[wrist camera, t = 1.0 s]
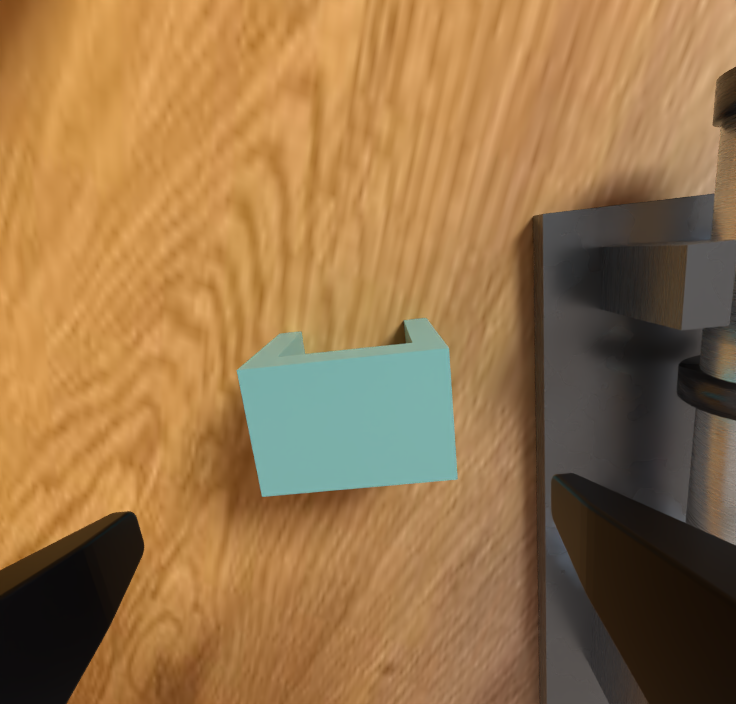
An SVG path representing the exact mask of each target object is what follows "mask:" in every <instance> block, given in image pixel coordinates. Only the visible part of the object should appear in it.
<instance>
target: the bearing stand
mask: <svg viewBox="0 0 736 704" xmlns="http://www.w3.org/2000/svg"><path fill="white" fill-rule="evenodd" d="M714 196H715V194H707V195H699V196H691V197H682V198H674V199H665V200H657V201H649V202H640V203H632V204H624V205H615V206H607V207H598V208H590V209H582V210H573V211H565V212H556V213H548V214H541V215H537V216H533V244H534V317H535V391H536V464H537V538H538V611H539V685H540V704H648V702H647V700H646V698H645V697H644V695H643V693H642V691H641V690H640V688H639V686H638V684H637V683H636V681H635V679H634V677H633V676H632V674H631V672H630V670H629V669H628V667H627V665H626V663H625V662H624V660H623V658H622V656H621V655H620V653H619V651H618V649H617V648H616V646H615V644H614V642H613V641H612V639H611V637H610V635H609V634H608V632H607V630H606V628H605V627H604V625H603V623H602V621H601V619H600V618H599V616H598V614H597V612H596V611H595V609H594V607H593V605H592V604H591V602H590V600H589V598H588V596H587V594H586V592H585V590H584V588H583V586H582V584H581V582H580V580H579V577H578V575H577V573H576V571H575V568H574V566H573V564H572V562H571V559H570V557H569V555H568V552H567V550H566V548H565V546H564V543H563V541H562V539H561V537H560V534H559V532H558V530H557V528H556V525H555V523H554V521H553V517H552V513H551V479H552V477H553V475H555V474H563V473H574V474H577V475H579V476H581V477H584V478H586V479H588V480H590V481H593V482H595V483H597V484H599V485H602V486H604V487H606V488H608V489H611V490H613V491H615V492H617V493H620V494H622V495H624V496H626V497H628V498H631V499H633V500H635V501H637V502H640V503H642V504H644V505H646V506H649V507H651V508H653V509H655V510H658V511H660V512H662V513H664V514H667V515H669V516H671V517H673V518H676V519H678V520H680V521H682V522H686V510H687V499H688V488H689V477H690V466H691V454H692V443H693V432H694V421H695V410H696V408H695V407H692V406H691V405H689V404H687V403H685V402H684V401H683V400H681V399H680V398H679V397H678V395H677V391H676V390H677V377H678V365H679V363H680V362H681V361H683V360H684V359H687V358H690V357H693V356H698V355H700V353H701V342H702V331H703V328H710V327H719V326H729V325H730V316H731V306H732V297H733V287H734V278H735V269H736V239H735V240H711V230H712V219H713V208H714Z"/></svg>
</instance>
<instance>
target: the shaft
mask: <svg viewBox="0 0 736 704" xmlns="http://www.w3.org/2000/svg"><path fill="white" fill-rule="evenodd" d="M713 126H715V127H721V129H720V140H719V152H718V163H717V174H716V185H715V196H714V208H713V219H712V230H711V240H735V239H736V67H734V68H733V69H731V70H729V71H727V72H726V73H724V74H723V75H722V76H720V77H719V78H718V79H717V81H716V91H715V103H714V115H713ZM676 391H677V395H678V397H679V398H680V399H681V400H683V401H684V402H685V403H687V404H689V405H691V406H692V407H695V408H696V410H695V421H694V432H693V443H692V454H691V466H690V477H689V488H688V499H687V510H686V522H685V523H687V524H689V525H691V526H694V527H696V528H698V529H700V530H703V531H705V532H707V533H709V534H712V535H714V536H716V537H718V538H721V539H723V540H725V541H727V542H730V543H732V544H734V545H736V269H735V278H734V287H733V297H732V306H731V316H730V325H729V326H719V327H710V328H703V331H702V342H701V353H700V355H698V356H693V357H690V358H687V359H684V360H683V361H681V362H680V363H679V365H678V377H677V390H676Z"/></svg>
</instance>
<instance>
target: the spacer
mask: <svg viewBox="0 0 736 704" xmlns="http://www.w3.org/2000/svg"><path fill="white" fill-rule="evenodd" d="M404 328H405V339H406V344H396V345H387V346H377V347H368V348H358V349H349V350H340V351H330V352H321V353H311V354H305V351H304V344H303V338H302V332H292V333H282V334H279V335H278V336H276V337H275V338H274V339H273V340H272V341H271V342H269V343H268V344H267V345H266V346H265V347H263V348H262V349H261V350H260V351H259V352H258V353H256V354H255V355H254V356H253V357H252V358H251V359H249V360H248V361H247V362H246V363H245V364H243V365H242V366H241V367H240V368H239V369H238V370H237V374H238V379H239V384H240V389H241V394H242V399H243V404H244V409H245V414H246V419H247V424H248V429H249V434H250V439H251V444H252V449H253V454H254V459H255V464H256V469H257V474H258V479H259V484H260V489H261V494H262V497H266V496H277V495H288V494H299V493H310V492H322V491H333V490H344V489H355V488H367V487H378V486H389V485H400V484H412V483H423V482H434V481H445V480H456V479H458V478H457V463H456V448H455V433H454V418H453V403H452V388H451V373H450V358H449V348H448V346H447V345H446V344H445V342H444V341H443V340H442V338H441V337H440V336H439V334H438V333H437V332H436V330H435V329H434V328H433V326H432V325H431V323H430V322H429V321H428V319H427V318H421V319H411V320H404Z"/></svg>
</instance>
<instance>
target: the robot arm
mask: <svg viewBox="0 0 736 704" xmlns="http://www.w3.org/2000/svg"><path fill="white" fill-rule="evenodd" d="M551 513H552V517H553V521H554V523H555V525H556V528H557V530H558V532H559V534H560V537H561V539H562V541H563V543H564V546H565V548H566V550H567V552H568V555H569V557H570V559H571V562H572V564H573V566H574V568H575V571H576V573H577V575H578V577H579V580H580V582H581V584H582V586H583V588H584V590H585V592H586V594H587V596H588V598H589V600H590V602H591V604H592V605H593V607H594V609H595V611H596V612H597V614H598V616H599V618H600V619H601V621H602V623H603V625H604V627H605V628H606V630H607V632H608V634H609V635H610V637H611V639H612V641H613V642H614V644H615V646H616V648H617V649H618V651H619V653H620V655H621V656H622V658H623V660H624V662H625V663H626V665H627V667H628V669H629V670H630V672H631V674H632V676H633V677H634V679H635V681H636V683H637V684H638V686H639V688H640V690H641V691H642V693H643V695H644V697H645V698H646V700H647V702H648V704H736V545H734V544H732V543H730V542H727V541H725V540H723V539H721V538H718V537H716V536H714V535H712V534H709V533H707V532H705V531H703V530H700V529H698V528H696V527H694V526H691V525H689V524H687V523H685V522H682V521H680V520H678V519H676V518H673V517H671V516H669V515H667V514H664V513H662V512H660V511H658V510H655V509H653V508H651V507H649V506H646V505H644V504H642V503H640V502H637V501H635V500H633V499H631V498H628V497H626V496H624V495H622V494H620V493H617V492H615V491H613V490H611V489H608V488H606V487H604V486H602V485H599V484H597V483H595V482H593V481H590V480H588V479H586V478H584V477H581V476H579V475H577V474H574V473H563V474H555V475H553V477H552V479H551ZM143 552H144V541H143V538H142V534H141V531H140V527H139V524H138V520H137V517H136V515H135V514H134V513H133V512H130V511H127V512H116V513H112V514H109V515H108V516H106V517H104V518H102V519H100V520H98V521H96V522H94V523H92V524H90V525H88V526H86V527H84V528H82V529H80V530H78V531H76V532H74V533H72V534H70V535H68V536H66V537H64V538H62V539H61V540H59V541H57V542H55V543H53V544H51V545H49V546H47V547H45V548H43V549H41V550H39V551H37V552H35V553H33V554H31V555H29V556H27V557H25V558H23V559H21V560H19V561H17V562H16V563H14V564H12V565H10V566H8V567H6V568H4V569H2V570H0V704H67V702H68V700H69V698H70V697H71V695H72V693H73V691H74V690H75V688H76V686H77V684H78V682H79V681H80V679H81V677H82V675H83V674H84V672H85V670H86V668H87V666H88V665H89V663H90V661H91V659H92V658H93V656H94V654H95V652H96V651H97V649H98V647H99V645H100V643H101V642H102V640H103V638H104V636H105V634H106V632H107V631H108V629H109V627H110V625H111V623H112V621H113V618H114V616H115V614H116V612H117V610H118V608H119V606H120V604H121V601H122V599H123V597H124V595H125V593H126V590H127V588H128V586H129V584H130V582H131V580H132V577H133V575H134V573H135V571H136V569H137V566H138V564H139V562H140V560H141V558H142V555H143Z"/></svg>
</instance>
